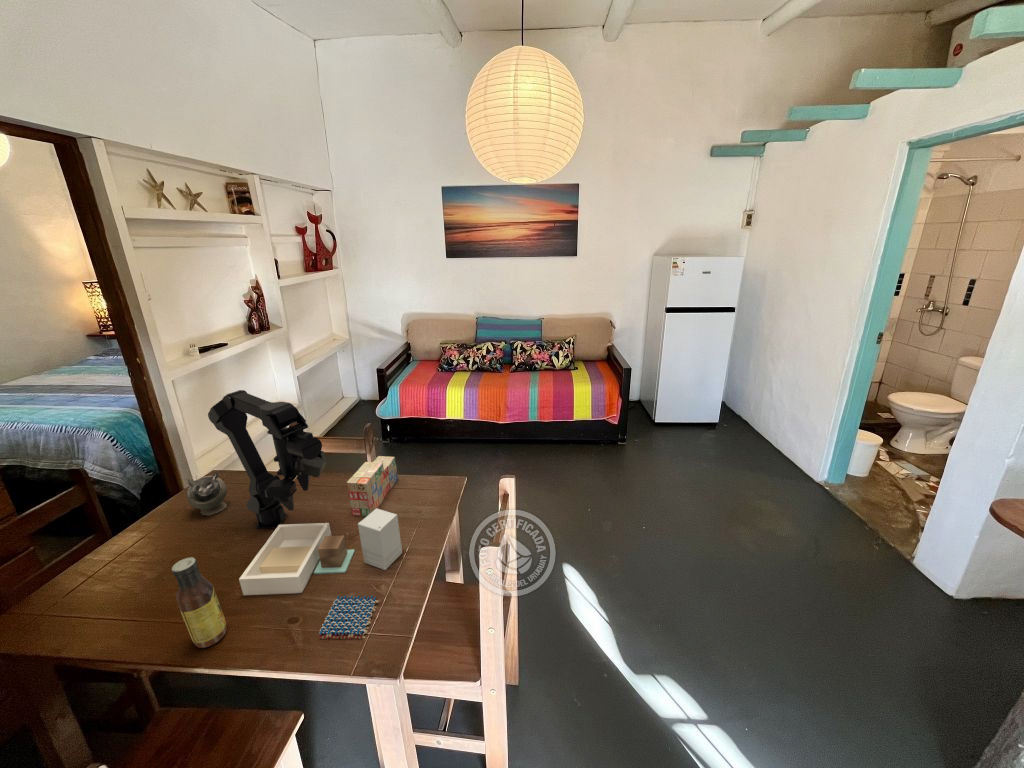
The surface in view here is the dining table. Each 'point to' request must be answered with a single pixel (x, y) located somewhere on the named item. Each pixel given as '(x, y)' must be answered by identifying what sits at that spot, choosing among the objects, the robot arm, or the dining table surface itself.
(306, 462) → the robot arm
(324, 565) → the walnut block
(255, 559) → the crate
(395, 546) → the supplement box
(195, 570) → the sauce bottle
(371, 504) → the stack of blocks
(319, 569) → the teal pad
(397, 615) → the dining table surface
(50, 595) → the dining table surface
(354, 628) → the woven mat
